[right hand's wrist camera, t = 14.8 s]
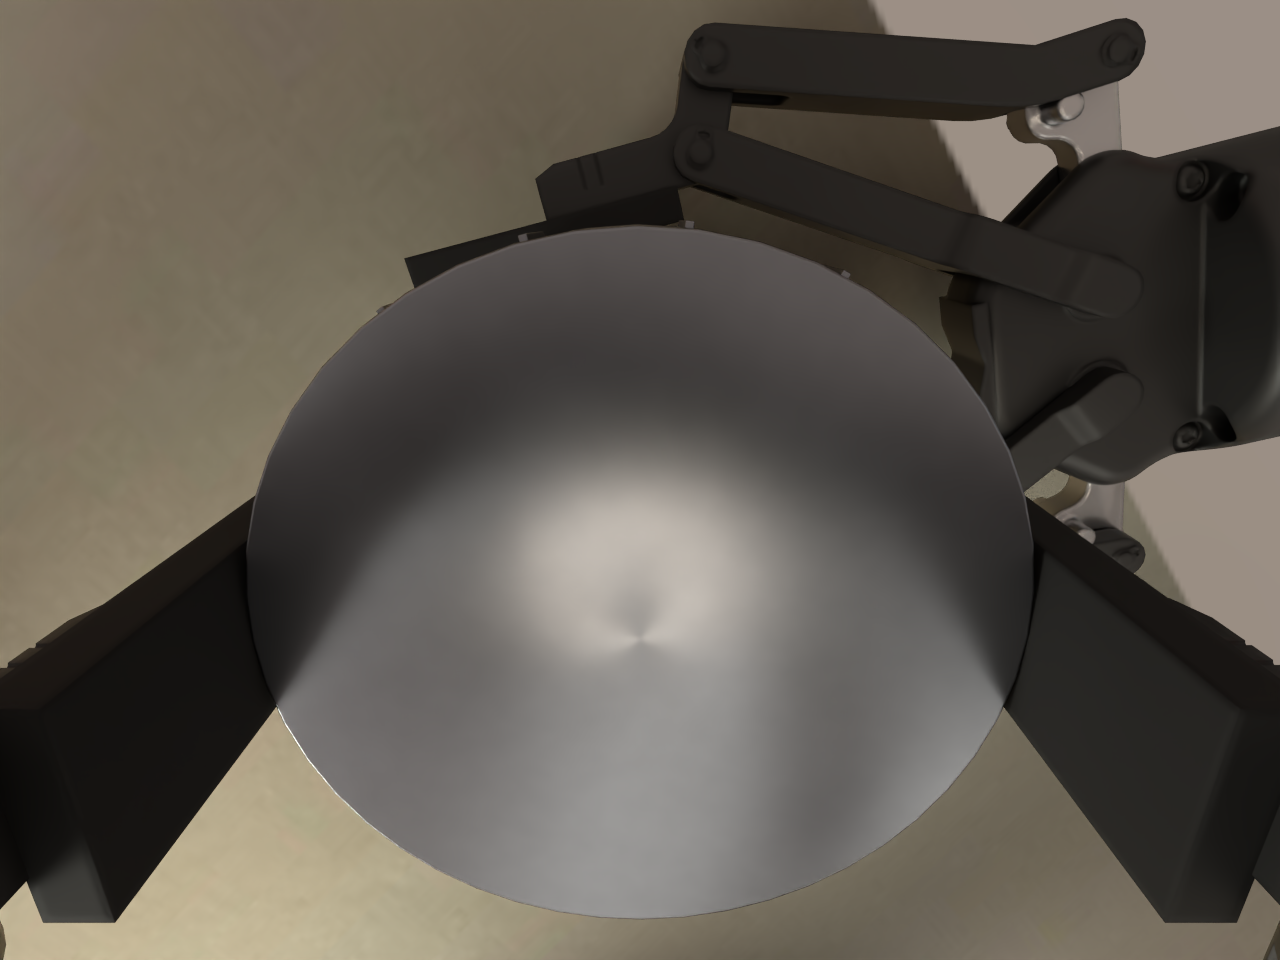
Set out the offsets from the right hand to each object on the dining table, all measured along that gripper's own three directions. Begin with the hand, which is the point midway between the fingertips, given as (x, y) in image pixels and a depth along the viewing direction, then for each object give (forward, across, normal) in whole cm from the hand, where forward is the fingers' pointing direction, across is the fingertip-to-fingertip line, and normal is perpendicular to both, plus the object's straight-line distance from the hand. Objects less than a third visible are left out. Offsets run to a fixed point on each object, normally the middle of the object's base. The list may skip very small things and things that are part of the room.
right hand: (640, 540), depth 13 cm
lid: (-3, 0, 0) cm, 3 cm away
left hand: (+7, -4, -1) cm, 8 cm away
